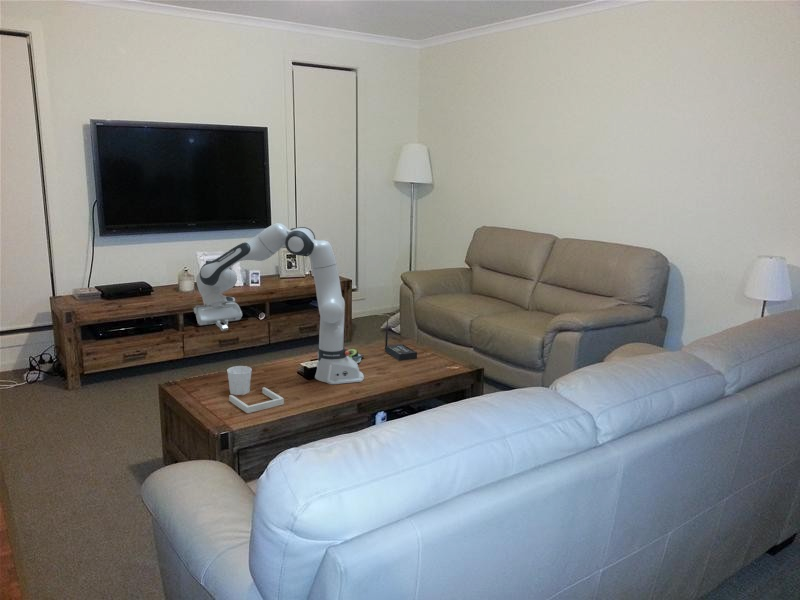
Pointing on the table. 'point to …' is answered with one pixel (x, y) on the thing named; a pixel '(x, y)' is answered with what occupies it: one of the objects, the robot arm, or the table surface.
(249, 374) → the cup
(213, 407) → the table surface
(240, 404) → the white u-shaped frame
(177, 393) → the table surface
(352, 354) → the salad plate
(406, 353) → the wifi router
